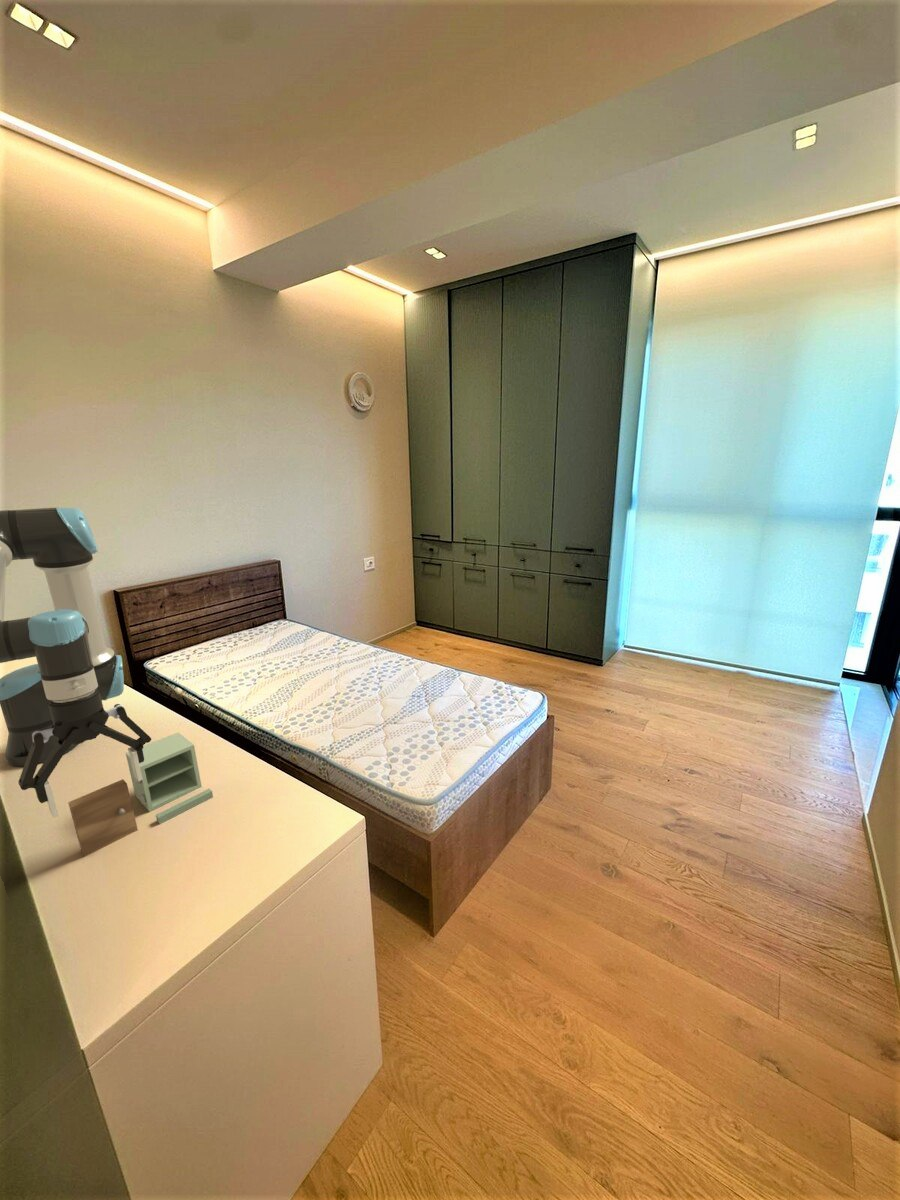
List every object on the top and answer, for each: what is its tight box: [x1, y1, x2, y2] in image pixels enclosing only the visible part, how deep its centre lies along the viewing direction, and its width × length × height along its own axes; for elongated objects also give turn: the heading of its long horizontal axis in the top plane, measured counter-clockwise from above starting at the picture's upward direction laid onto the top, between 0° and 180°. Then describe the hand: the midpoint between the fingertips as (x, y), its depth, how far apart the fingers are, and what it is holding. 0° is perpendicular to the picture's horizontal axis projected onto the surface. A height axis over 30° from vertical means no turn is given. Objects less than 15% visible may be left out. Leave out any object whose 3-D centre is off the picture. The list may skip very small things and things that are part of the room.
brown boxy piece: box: [67, 778, 139, 857], centre depth 92 cm, size 4×9×11 cm, turn 140°
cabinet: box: [125, 731, 214, 825], centre depth 105 cm, size 15×12×11 cm
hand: (98, 795), depth 91 cm, fingers open, 13 cm apart
